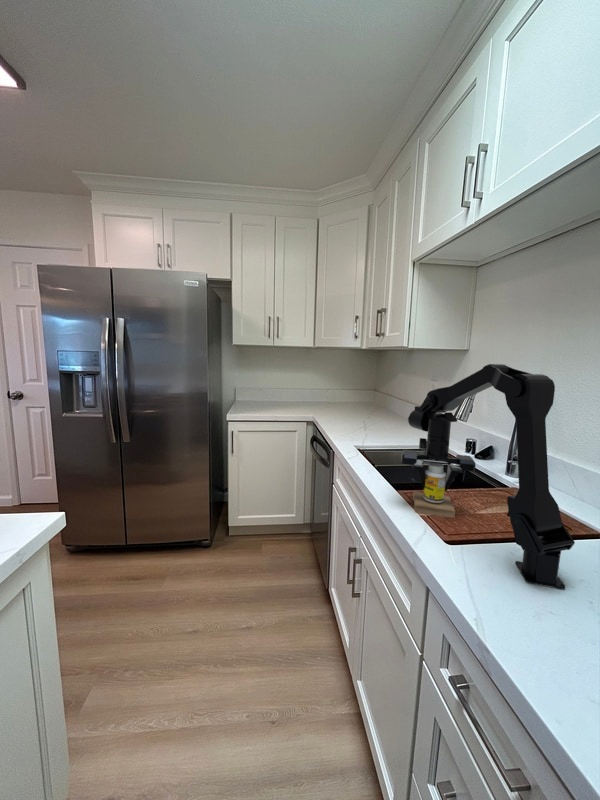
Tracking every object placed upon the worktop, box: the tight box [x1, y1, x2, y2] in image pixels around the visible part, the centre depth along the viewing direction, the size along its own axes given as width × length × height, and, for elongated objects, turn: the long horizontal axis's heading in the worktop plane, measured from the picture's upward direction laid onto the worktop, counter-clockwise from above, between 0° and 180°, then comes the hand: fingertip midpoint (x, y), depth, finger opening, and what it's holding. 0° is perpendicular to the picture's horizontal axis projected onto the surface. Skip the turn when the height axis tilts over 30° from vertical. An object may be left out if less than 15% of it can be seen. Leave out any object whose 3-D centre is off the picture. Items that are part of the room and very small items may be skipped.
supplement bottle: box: [422, 462, 447, 503], centre depth 94 cm, size 6×6×10 cm
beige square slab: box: [412, 491, 456, 519], centre depth 95 cm, size 10×10×2 cm
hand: (434, 489), depth 94 cm, fingers closed on supplement bottle, 5 cm apart
